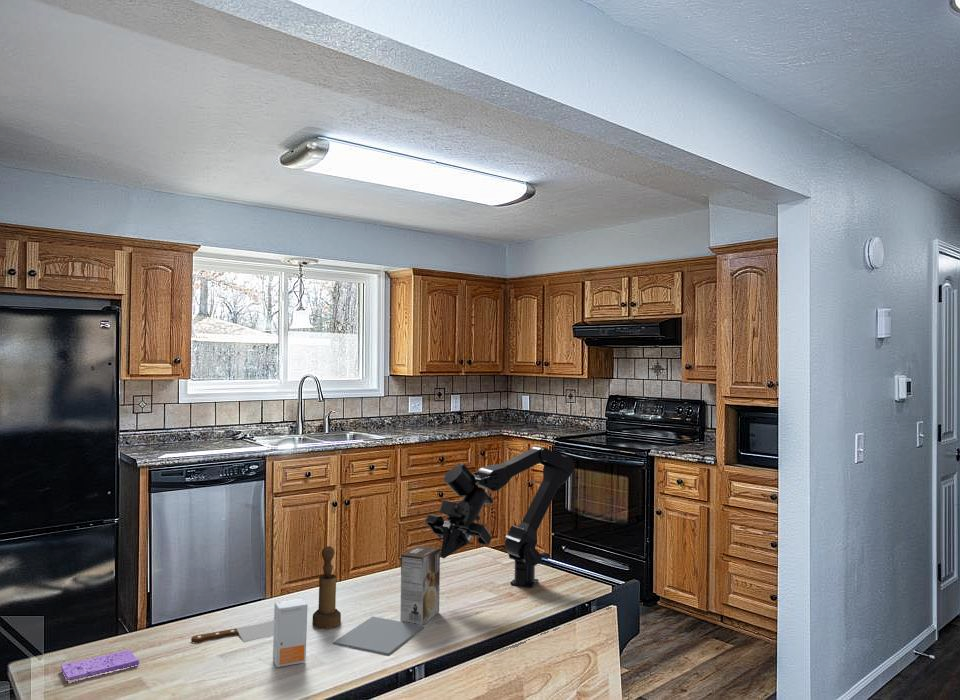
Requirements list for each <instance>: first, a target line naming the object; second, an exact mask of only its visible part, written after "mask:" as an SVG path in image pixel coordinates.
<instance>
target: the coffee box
mask: <svg viewBox="0 0 960 700" xmlns="http://www.w3.org/2000/svg"><path fill="white" fill-rule="evenodd" d="M440 554H441V548H440V547H434V546H433V547H432V546H426V545H425V546H424V545H423V546H422V545H417V546H414V547H413V548H411V549H409V550H407V551H406V552H404V553H402V554H400V557H401V558H400V616H399V617H400V620H399V621H401V622H403V621H404V622H406V623H408V622H410V623H412V624H414V623H416V624H417V625H420V624H421V625H423V624H424V625H425V624H426V623H428V622H429V621H430V620H431V619H433V618H434V617H435V616H437V615H438V614H439V613H440V590H441V589H440V582H441V581H440V579H441V578H440V573H441V565H440V563H441V560H440V559H441V556H440ZM424 625H423V626H424Z"/></svg>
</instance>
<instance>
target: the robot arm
mask: <svg viewBox="0 0 960 700" xmlns="http://www.w3.org/2000/svg"><path fill="white" fill-rule="evenodd" d="M538 464H540V465H542V466H543V468H542V477H543V478H542V480H541V483H540V484H539V487H538V489H537V491H536V493H535V495H534V497H533V499H532V501H531V502H530V505H529V507H528V509H527V511H526V512H525V515H524V517H523V518H522V521H521V523H520V524H518V525H516V526H515V525H511V526H510V527H509V530H508V532H507V534H506V535H505V537H504V538H505V541H504V549H505V551H506V552H507V554H508V557H509V559H510V560H513V561H514V579H512V580H511V581H510V583H509V584H510V585H513V586H518V587H519V586H520V587H527V588H533V587H534V586H535V585H536V584H538V582H539V578H536V575H535V574H536V573H535V572H536V566H537V565H538V564H539V565H540V564H541V562H542V558H543V555H542V554H541V553H540V552H539V551H538V550H537V549H536V548H537V547H536V546H537V543H538V530H539V527H540V525H541V524H542V521H543V520H544V517H545V515H546V514H547V512H548V510H549V507H550V505H551V504H552V501H553V499H554V497H555V496H556V495H555V494H556V493H557V491H558V489H559V488H560V486H562V485H563V484H565V483H566V482H567V481H568V480H569V478H570V477H571V475H572V474H573V473H574V470H575V466H576V465H575V463H574V460H573V458H572V457H571V456H568V455H563V454H559V453H557V452H555V451H552V450H550V449H549V448H548V447H547V446H540V445H534V446H532V447H531V448H530V449H528V450H526V451H524V452H522V453H519V454H518V455H516V456H514V457H512V458H510V459H508V460H506V461H504V462H502V463H497V464H496V463H495V464H489V465H487V466H484V467H480V468H479V469H478V470H477V471H476V472H471V471H470V470H469V469H468V467H467V465H465V464H464V463H458V465H457V466H454V467H453V468H451V469H450V470H448V471H447V472H446V474H445V475H444V478H443V481H444V483H445V484H446V485H447V486H448V487H449V488H450V489H451V490H452V491H453V492H454V493H455V494H456V495H457V496H458V497H462V496H463V497H462V499H461V500H460V501H459V502H455V501H450V500H444V499H443V500H442V501H441V504H440V508H439V513H440V514H444V515H446V516H445V518H446V519H447V520H448V521H447V520H445V519H444V518H443V516H441V515H437V514H428V516H427V517H426V519H425V521H424V522H425V525H427V526H428V528H429V529H430V530H431V532H432V534H435V535H438V536H442V543H441V548H440V559H446V558H447V557H448V556H450V555H451V554H453V553H455V552H456V551H457V550H459V549H461V548H462V547H464V546H466V545H470V544H471V541H470V540H471V538H472V537H476V538H477V542H478V544H479V545H481V546H489V544H490V543H491V541H492V534H491V533H490V531H489V530H488V529H487V527H486V526H485V525H484V524H481V523H476V522H479V521H480V519H481V517H480V516H479V515H480V513H481V511H482V509H483V507H484V505H485V504H486V505H487V504H488V505H489V504H493V503H494V500H493V498H492V494H491V492H490V493H488V492H487V491H486V490H489V491H493V492H497V491H499V490H501V489H502V488H504V487H505V486H506V485H507V484H508V483H509V482H510V481H511V479H513V478H514V477H515V476H517V475H518V474H521V473H523V472H525V471H526V470H529V469H532V468H533V467H534V466H536V465H538ZM485 489H486V490H485ZM475 521H476V522H475Z"/></svg>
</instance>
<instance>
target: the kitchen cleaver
mask: <svg viewBox="0 0 960 700" xmlns="http://www.w3.org/2000/svg"><path fill="white" fill-rule="evenodd" d="M234 636H238V637H239V638H240V639H241V640H242V642H243V643H247V642H252V641H256V640H261V639H265V638H269V636H270V637H274V619H273V620H270V621H267V622H262V623H257V624H251V625H247V626H246V625H245V626H241V627H236V628H235V627H234V628H231V629H225V630H219V631H214V632H213V631H212V632H209V633H203V634H197V635H193V636H192V637H191V639H190V640H191V641H192V642H191V643H193V642H194V644H199V642H200V643H203V642H206V641H211V640H212V641H213V640H217V639H223V638H226V637H234Z"/></svg>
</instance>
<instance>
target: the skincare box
mask: <svg viewBox="0 0 960 700" xmlns="http://www.w3.org/2000/svg"><path fill="white" fill-rule="evenodd" d="M273 607H274V609H273V611H274V615H273V620H274V636H272V637H273V642H272V643H273V645H272V647H273V648H272V660H273V662H274V665H275V667H276V668H281V667H287V666H291V665H293V666H294V665H297V664H305V663H306V662H307V661H306V660H307V659H306V658H307V631H308V627H307V626H308V607H309V605H308V603H307V602H306V601H305V599H304V598H297V599H288V600H285V601H284V600H283V601H277V602H274V606H273Z"/></svg>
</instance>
